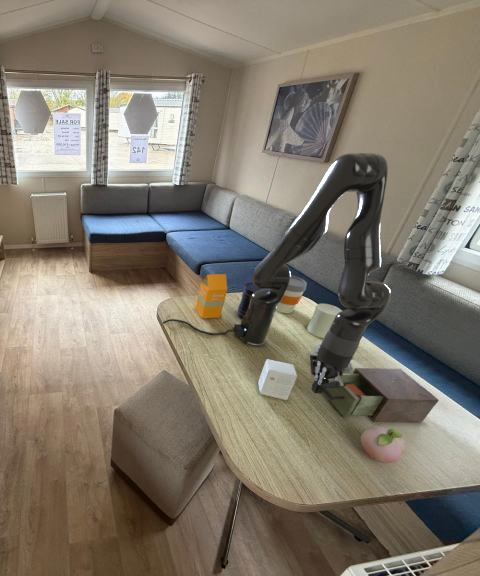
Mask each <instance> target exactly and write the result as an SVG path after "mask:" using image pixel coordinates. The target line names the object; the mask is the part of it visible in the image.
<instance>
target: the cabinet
mask: <svg viewBox="0 0 480 576" xmlns="http://www.w3.org/2000/svg"><path fill="white" fill-rule="evenodd" d="M352 373H356V374H359V375H360V376H361V377H362V378H364V379H365V380H366V381H367V382H368V383H369V384H370V385H371V386H372V387H373V388H374V389H375V390H376V391H377V392H378V393H379V394H380V395H381V396H383V397H384V398H385V400H384V401H383V403H382V404H381V406H380V407H379V409H378V410H377V412H376V413H375V415H374V416H370V415H366V416H367V417H368V418H369V419H370V420H371V421H372V423H411V424H412V423H414V424H415V423H417V424H421V423H422V422H423V421H424V420H425V419H426V417H427V416H428V415H429V414H430V412H431V411H432V410H433V409H434V407H435V406H436V405H437V404H438V403H439V401H440V399H439V398H437V397H436V396H435V395H433V394H432V392H429V390H428V389H426V388H425V387H424V386H422V384H420V383H419V382H417V381H416V380H415V379H414V378H413V377H411V376H410V375H409V374H407V373H406V372H405V371H404V370H402V369H401V368H375V367H374V368H373V367H372V368H371V367H355V368H354V370H352Z"/></svg>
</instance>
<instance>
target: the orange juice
mask: <svg viewBox="0 0 480 576" xmlns="http://www.w3.org/2000/svg"><path fill="white" fill-rule="evenodd" d="M227 293H228V281H227V274H226V273H217V274H207V275H206V276H204V278H203V279H202V280H201V282H200V286H199V291H198V295H197V300H196V303H195V304H196V305H195V311H196V312H197V314H198V315H199V317H200V318H201V319H211V318H214V319H215V318H221V315H222V311H223V308H224V305H225V300H226V298H227V297H226V296H227Z"/></svg>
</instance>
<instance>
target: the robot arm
mask: <svg viewBox="0 0 480 576" xmlns="http://www.w3.org/2000/svg"><path fill="white" fill-rule="evenodd" d="M388 165H389V164H388V161H387V159H386V158H385V156H384V155H382V154H379V153H372V152H369V153H368V152H360V153H359V152H349V153H345V154H342V155H340V156H339V157H337V158H336V159H334V161H332V163H331V164H330V166H329V167H328V168H327V170H326V171H325V172H324V174H323V177H322V178H321V179H320V181H319V183H318V185H317V187H316V188H315V190H314V192H313V193H312V195H311V196H310V198H309V199H308V200H307V202H306V204H305V205H304V207H303V208H302V209H301V211H300V212H299V213H298V215H297V216H296V217H295V219H294V220H293V221H292V222H291V224H290V225H289V227H288V228H287V229H286V231H285V232H284V233H283V234H282V237H280V239H279V240H278V241H277V243H276V244H275V245H274V247H273V248H272V249H271V250H270V252H269V253H268V254H267V255H266V256H265V257H264V258H263V259H262V260H261V261H260V262H259V263H258V264H257V266H256V267H255V268H254V270H253V272H252V278H251V279H252V283H253V284H254V285H255V286H256V287H258V288H262V289H261V290H259V291H256V292H254V293H253V294H252V297H251V300H250V303H249V307H248V310H247V313H246V315H244V316H243V318H242V319H241V321H240V323H234V325H233V327H232V329H227V330H226V331H224V332H210V331H205V330H201V329H199V328H197V327H196V326H194V325H192V324H191V323H189V322H188V321H185V320H181V319H178V318H177V319H176V318H170V319H167V320H164V321H163V322H162V324H166V323H169V322H176V323H177V322H178V323H182V324H185V325H187V326H189V327H190V328H192V329H193V330H194V331H196V332H199V333H202V334H205V335H210V336H217V335H224V336H225V335H227V334H229V333H232V332H233V333H234V334H235V336H236V337H237V338H240V340H241V342H242V343H243V344H248V345H249V346H254V347H261V346H263V345H265V342H266V338H267V336H268V333H269V331H270V327H271V325H272V322H273V319H274V316H275V313H276V312H277V311H276V308H277V305H278V304H279V303H280V302H281V300H282V298H283V296H284V294H285V291H286V289H287V287H288V284H289V281H290V276H292V274H291V269H290V267H289V266H288V265H287V264H289V263H290V262H292V261H294V260H297V259H298V258H300V257H302V256H304V255H306V254H307V253H309V252H310V251H311V250H313V249H314V247H316V246H317V244H318V243H319V242H320V241H321V240H322V238H323V237H324V236H325V235H326V233H327V231H328V228H329V220H330V218H329V216H330V211H331V209H332V208H333V206H334V205H335V204H336V203H337V201H338V200H339V199H340V198H341V196H343V195H344V194H345V193H347V192H351V193H353V192H355V194H356V199H357V206H356V211H355V214H354V216H353V219H352V221H351V223H350V225H349V227H348V228H347V231H346V232H345V236H344V240H343V259H344V267H343V271H342V272H341V278H340V281H339V283H338V284H339V286H338V289H337V296H338V300H339V302H340V304H341V305H342V306H343V307H344V308H346V309H344V310H342V311H341V312H339V313H338V314H337V315H336V316H335V318H334V320H333V322H332V325H331V327H330V329H329V330H328V332H327V333H326V335H325V337H324V338H322V339H323V340H322V342H321V346H320V348H319V350H318V349H317V352H316V353H317V355H314V354H310V355H309V364H310V365H309V366H310V373H311V375H312V376H314V377H313V380H314V381H313V383H312V385H311V391H312V392H313V393H314V394H324V393H323V391H324V389H325V388H338V387H344V386H346V383H345V382H342V379H341V376H342V375H343V373H344V370H345V369H344V368H346V367H347V366H348V365H349V363H351V361H352V360H353V359H352V357H353V358H354V355H355V354H356V352H357V350H358V348H359V345H360V342H361V340H362V338H363V336H364V334H365V332H366V331H367V329H368V327H369V326H370V325H371V324H372V323H374V321H375V320H376V319H377V318H378V317H379V316H380V315H381V314H382V313H383V312H384V310H386V308H387V307H388V305H389V303H390V300H391V289H390V288H389V287H388V285H386V284H385V283H383V282H381V281H373V280H371V281H370V280H369V281H368V278H369V275H370V274H371V273H372V272H376V271H378V270H379V269H380V268H381V265H382V257H381V255H382V254H381V239H380V237H381V236H380V233H381V222H382V221H381V220H382V213H383V207H384V201H385V194H386V188H387V181H388V172H389V166H388ZM351 359H352V360H351ZM334 378H335V379H334ZM333 379H334V380H333ZM331 381H332V382H331Z"/></svg>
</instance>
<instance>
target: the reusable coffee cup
mask: <svg viewBox="0 0 480 576" xmlns="http://www.w3.org/2000/svg"><path fill="white" fill-rule="evenodd" d="M307 285H308V282H307V281H306V280H304V279H303V278H301V277H298V276H295V275H291V276H290V281H289V284H288V287H287V289H286V291H285V294H284V296H283V298H282V300H281V302H280V303H279V304H278V305H277V308H276V311H275V312H278V313H282V314H291V313H292V312H293V311H294V309H295V308H296V306H297V305H298V304H299V302H300V301H301V299H302V297H303V295H304V292H305V291H306V290H307Z"/></svg>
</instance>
